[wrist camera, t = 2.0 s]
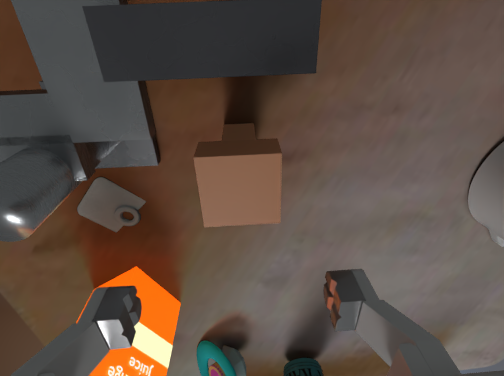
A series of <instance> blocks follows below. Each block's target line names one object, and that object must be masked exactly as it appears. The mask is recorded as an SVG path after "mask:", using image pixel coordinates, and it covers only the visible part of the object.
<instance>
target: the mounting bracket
mask: <svg viewBox="0 0 504 376" xmlns="http://www.w3.org/2000/svg"><path fill="white" fill-rule="evenodd" d="M145 203H146V201H145V200H143V199H141V198H139V197H138V196H136V195H134V194H132V193H131V192H129V191H127V190H125V189H123V188H122V187H120V186H118V185H116V184H115V183H113V182H111V181H109V180H108V179H106V178H104V177H99V178H97V179H95V180H94V182H93V183H92V185H91V186H90V188H89V190H88V191H87V193H86V194H85V196H84V198H83V199H82V201H81V202H80V204H79V206H78V208H77V211H78V213H79V214H80V215H82V216H84V217H86V218H88V219H90V220H92V221H94V222H96V223H98V224H100V225H102V226H104V227H106V228H108V229H110V230H112V231H114V232H116V233H117V232H118V231H119V230H120V229H121V227H122V226H123V225H125V226H133V225H136V224H137V223H138V222H139V221H140V219H141V216H140V213H139V211H138V210H139V209H140V208H141V207H142V206H143V205H144V204H145ZM124 212H130V213H131V214H133V216H134V219H133V220H131V221H128V219H125V218H124V217H123V213H124Z"/></svg>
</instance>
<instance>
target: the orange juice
mask: <svg viewBox="0 0 504 376" xmlns="http://www.w3.org/2000/svg"><path fill="white" fill-rule="evenodd" d="M114 286H135V287H136V289H137V294H136V296H137V297H139V298H140V300H141V305H142V311H141V317H140V320H139V322H138V323H137V324H136V325H135V326H134V328H135V330H136V334H135V337H134V340H133V343H132V346H131V348H122V349H113V350H109V353H108V354H107V355H106V356H105V357H104V358H103V360H102V361H101V362H100V363H99V364H98V365H97V367H96V368H95V369H94V370H93V371H92V372H91V374H90V375H89V376H166V374H167V369H168V366H169V361H170V356H171V351H172V344H173V339H174V334H175V329H176V324H177V319H178V314H179V309H180V304H181V303H180V302H179V301H178V300H177V299H175V298H174V297H173V296H172V295H170V294H169V293H168V292H167V291H166V290H164V289H163V288H162V287H161V286H160V285H158V284H157V283H156V282H155V281H153V280H152V279H151V278H150V277H149V276H147V275H146V274H145V273H144V272H143V271H141V270H140V269H139V268H138V267H137V266H136V267H134V268H133V269H131V270H129V271H127V272H125V273H123V274H121V275H120V276H118V277H116V278H114V279H112V280H110V281H108V282H107V283H105V284H103V285H101V286H99V287H114ZM95 289H96V288H95ZM95 289H94V290H95ZM94 290H93V291H94ZM92 293H93V292H92ZM91 295H92V294H91ZM90 297H91V296H90ZM89 299H90V298H89ZM88 301H89V300H88ZM88 301H87V303H88ZM87 303H86V305H87ZM86 305H85V307H86ZM85 307H84V309H85ZM84 309H83V311H84ZM83 311H82V313H83ZM82 313H81V315H82ZM81 315H80V316H81ZM80 316H79V318H80ZM79 318H78V320H79ZM78 320H77V322H78ZM77 322H76V323H77Z"/></svg>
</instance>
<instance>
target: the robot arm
mask: <svg viewBox="0 0 504 376" xmlns="http://www.w3.org/2000/svg"><path fill="white" fill-rule="evenodd" d="M468 206H469V210H470V212H471V214H472V216H473V217H474V218H475V219H476V220H477V221H478V222H479V223H481V224H482V225H484V226H485V227H487V228H488V229H489V231H490V235H491V237H492V239H493V241H494V242H496V243H497V244H499V245H500V246H502V247H504V142H502V143H501V144H500V145H499V146H498V147H497V148H496V149H495V150H494V151H493V152H492V153H491V154H490V155H489V156H488V157H487V158H486V160H485V161H484V162H483V164H482V165H481V166H480V168H479V169H478V171H477V173H476V175H475V176H474V178H473V181H472V183H471V186H470V189H469V194H468ZM325 278H326V281H327V282H326V283H325V284H324V299H325V303H326V306H327V308H329V309H330V310H331V314H330V318H331V321H332V324H333V326H334V329H335V331H348V330H355V331H356V332H357V333H358V334H359V335H360V336H361V337H362V338H363V339H364V341H365V342H366V343H367V344H368V345H369V346H370V347H371V348H372V349H373V350H374V351H375V352H376V353H377V354H378V355H379V356H380V357H381V358H382V359H383V360H384V361H385V362H386V363H387V364H388V365H389V366H390V370H389V372H388V374H387V376H504V370H503V371H492V372H480V373H469V374H461V373H460V371H459V370H458V368H457V367H456V365H455V364H454V362H453V361H452V359H451V357H450V356H449V354H448V353H447V351H446V350H445V348H444V347H443V345H442V344H441V342H440V341H439V340H438V339H437V338H436V337H434V336H433V335H431V334H430V333H429V332H427V331H426V330H424V329H423V328H422V327H420V326H419V325H417V324H416V323H415V322H413V321H412V320H410V319H409V318H408V317H406V316H405V315H403V314H402V313H401V312H399V311H398V310H396V309H395V308H394V307H392V306H391V305H389V304H388V303H387V302H385V301H384V300H379V298H378V296H377V294H376V292H375V291H374V289H373V287H372V285H371V283H370V281H369V280H368V278H367V276H366V274H365V272H364V270H362V269H351V270H337V271H327V272H326V275H325ZM136 294H137V289H136V287H135V286H114V287H97V288H96V289H95V290H94V291H93V293H92V295H91V297H90V299H89V301H88V303H87V305H86V307H85V309H84V311H83V313H82V315H81V316H80V318H79V320H78V322H77V323H74V324H72V325H71V326H70V327H69V328H67V329H66V330H65V331H64V332H62V333H61V334H60V335H59V336H58V337H56V338H55V339H54V340H53V341H52V342H50V343H49V344H48V345H47V346H46V347H44V348H43V349H42V350H41V351H40V352H38V353H37V354H36V355H35V356H33V357H32V358H31V359H30V360H29V361H28V362H26V363H25V364H24V365H23V366H21V367H20V368H19V369H18V370H16V371H15V372H14V373H13V374H12V375H11V376H89V375H90V374H91V372H92V371H93V370H94V369H95V368H96V367H97V365H98V364H99V363H100V362H101V361H102V360H103V358H104V357H105V356H106V355H107V354H108V353H109V350H113V349H122V348H131V346H132V343H133V340H134V337H135V334H136V330H135V328H134V326H135V325H136V324H137V323H138V322H139V320H140V317H141V311H142V305H141V300H140V298H139V297H137V296H136Z"/></svg>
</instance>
